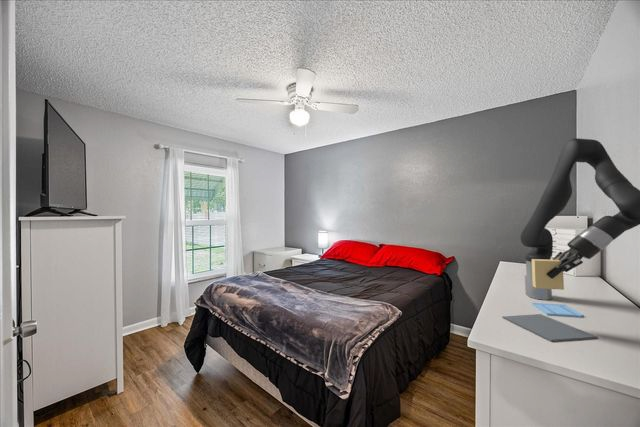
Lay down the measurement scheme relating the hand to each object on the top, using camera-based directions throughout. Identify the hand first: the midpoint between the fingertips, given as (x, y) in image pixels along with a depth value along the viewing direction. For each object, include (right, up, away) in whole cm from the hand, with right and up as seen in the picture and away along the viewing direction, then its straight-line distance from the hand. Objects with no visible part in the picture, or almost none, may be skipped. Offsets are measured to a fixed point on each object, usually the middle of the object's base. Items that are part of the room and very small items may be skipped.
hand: (547, 275), depth 97 cm
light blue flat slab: (+15, -18, +13) cm, 27 cm away
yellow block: (0, -5, 0) cm, 5 cm away
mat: (-3, -18, -3) cm, 18 cm away
